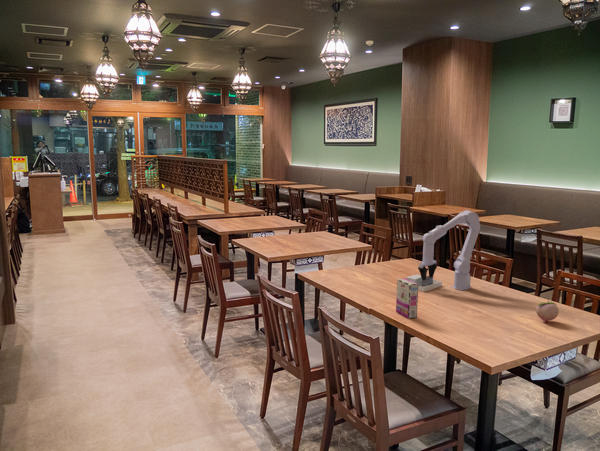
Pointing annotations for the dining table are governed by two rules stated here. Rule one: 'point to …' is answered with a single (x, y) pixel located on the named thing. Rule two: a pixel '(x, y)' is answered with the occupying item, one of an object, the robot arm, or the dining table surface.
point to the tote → (430, 286)
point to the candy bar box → (407, 298)
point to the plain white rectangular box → (415, 279)
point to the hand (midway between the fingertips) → (427, 278)
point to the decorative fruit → (547, 311)
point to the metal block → (427, 281)
